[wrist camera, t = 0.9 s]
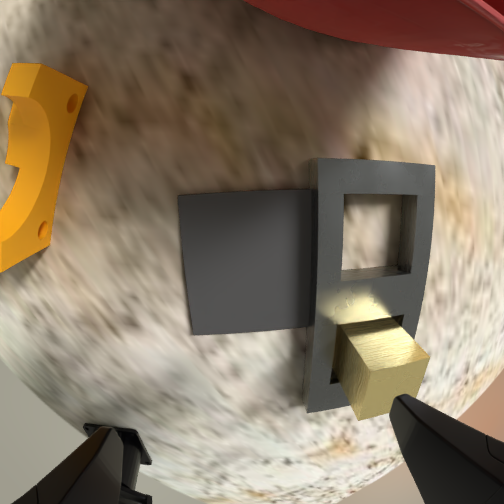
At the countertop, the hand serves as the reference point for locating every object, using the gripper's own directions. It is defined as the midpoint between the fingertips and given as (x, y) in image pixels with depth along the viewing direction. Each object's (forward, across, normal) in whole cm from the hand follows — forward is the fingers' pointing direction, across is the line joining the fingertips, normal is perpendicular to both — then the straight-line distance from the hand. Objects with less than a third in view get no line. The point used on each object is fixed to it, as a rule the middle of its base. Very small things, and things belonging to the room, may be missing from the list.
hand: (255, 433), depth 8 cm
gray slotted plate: (+13, -9, +3) cm, 16 cm away
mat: (+13, -2, -1) cm, 13 cm away
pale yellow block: (+13, -9, +7) cm, 17 cm away
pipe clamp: (+14, +14, -10) cm, 22 cm away
